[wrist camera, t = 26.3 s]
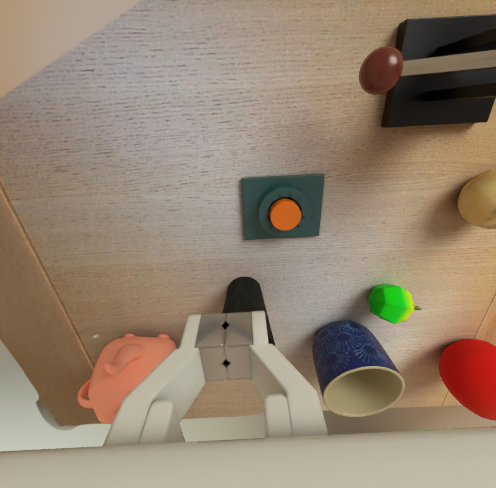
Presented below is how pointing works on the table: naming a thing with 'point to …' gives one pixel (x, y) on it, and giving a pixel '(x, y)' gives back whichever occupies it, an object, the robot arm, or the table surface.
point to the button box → (275, 188)
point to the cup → (246, 300)
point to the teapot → (122, 372)
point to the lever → (415, 67)
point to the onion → (479, 200)
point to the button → (285, 214)
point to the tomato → (471, 375)
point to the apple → (391, 303)
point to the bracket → (443, 84)
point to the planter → (354, 370)
